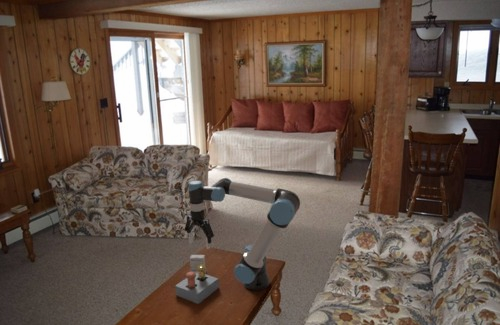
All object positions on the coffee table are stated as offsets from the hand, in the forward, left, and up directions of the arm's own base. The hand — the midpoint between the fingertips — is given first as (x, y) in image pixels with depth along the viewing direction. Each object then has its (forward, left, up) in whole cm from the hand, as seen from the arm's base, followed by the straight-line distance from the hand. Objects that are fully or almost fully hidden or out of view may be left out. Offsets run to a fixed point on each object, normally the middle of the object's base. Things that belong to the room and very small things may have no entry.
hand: (199, 245), depth 228 cm
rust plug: (0, +9, -22) cm, 24 cm away
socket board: (0, +5, -26) cm, 27 cm away
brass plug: (0, 0, -22) cm, 22 cm away
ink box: (+12, -10, -26) cm, 31 cm away
